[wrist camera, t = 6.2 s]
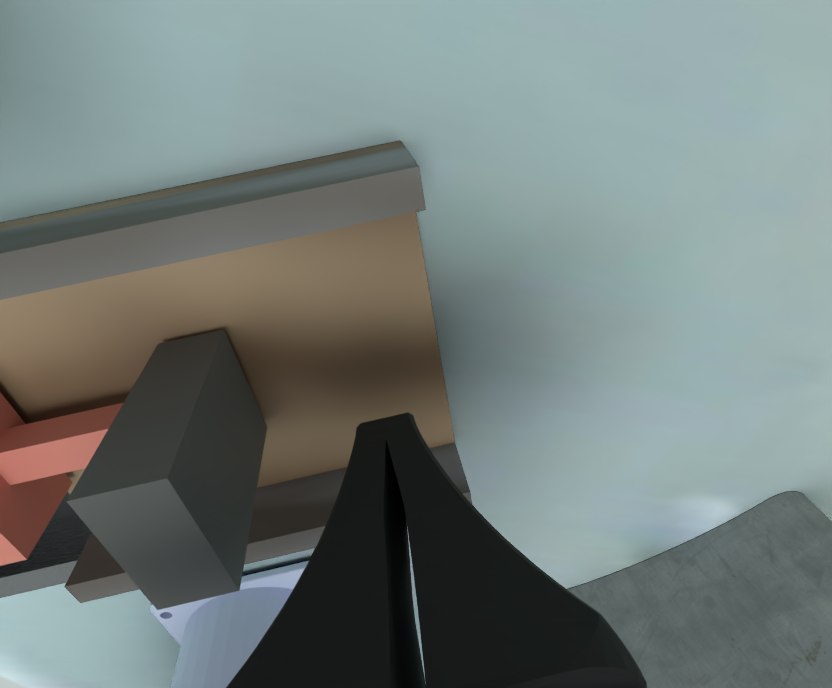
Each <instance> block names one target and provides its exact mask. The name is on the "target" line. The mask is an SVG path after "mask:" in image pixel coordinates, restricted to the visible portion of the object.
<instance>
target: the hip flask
mask: <svg viewBox="0 0 832 688" xmlns="http://www.w3.org/2000/svg"><path fill="white" fill-rule="evenodd" d="M567 590H568V591H569V592H571V593H572V594H574V595H575V596H576V597H578V598H579V599H580V600H582V601H583V602H585V603H586V604H588V605H589V606H591V607H592V608H593V609H595V610H596V611H598V612H599V613H600V614H601V615H602V616H603V617H604V619H605V620H606V621H607V622H608V624H609V625H610V626H611V627H612V629H613V630H614V631H615V633H616V634H617V635H618V637H619V638H620V639H621V641H622V642H623V643H624V645H625V646H626V648H627V649H628V651H629V652H630V654H631V655H632V657H633V659H634V660H635V662H636V664H637V665H638V667H639V668H640V670H641V672H642V674H643V676H644V678H645V680H646V682H647V688H832V521H831V520H830V519H829V518H828V517H827V516H825V515H824V514H823V513H822V512H821V511H820V510H819V509H818V508H817V507H816V506H815V505H814V504H813V503H812V502H811V501H810V500H809V499H808V498H807V497H806V496H805V495H803V494H802V493H800V492H785V493H781V494H778V495H776V496H773V497H771V498H769V499H768V500H766V501H764V502H762V503H761V504H759V505H757V506H756V507H754V508H752V509H750V510H748V511H747V512H745V513H743V514H741V515H739V516H738V517H736V518H734V519H732V520H730V521H728V522H726V523H724V524H722V525H720V526H718V527H717V528H715V529H713V530H711V531H709V532H706V533H704V534H702V535H700V536H698V537H696V538H694V539H692V540H690V541H688V542H686V543H684V544H681V545H679V546H677V547H675V548H672V549H670V550H668V551H666V552H663V553H661V554H659V555H657V556H654V557H652V558H650V559H648V560H645V561H643V562H640V563H638V564H636V565H633V566H631V567H628V568H626V569H623V570H621V571H618V572H615V573H613V574H610V575H608V576H605V577H602V578H599V579H597V580H594V581H591V582H588V583H585V584H582V585H579V586H576V587H573V588H570V589H567Z"/></svg>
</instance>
